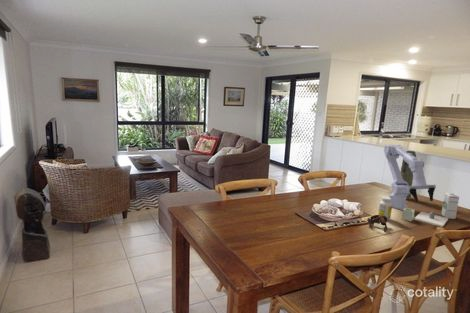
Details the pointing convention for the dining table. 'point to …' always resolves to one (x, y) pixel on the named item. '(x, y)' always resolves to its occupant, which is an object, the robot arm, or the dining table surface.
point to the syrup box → (450, 205)
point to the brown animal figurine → (377, 217)
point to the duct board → (431, 218)
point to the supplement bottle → (385, 207)
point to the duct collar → (408, 214)
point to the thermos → (407, 172)
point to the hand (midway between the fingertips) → (424, 201)
